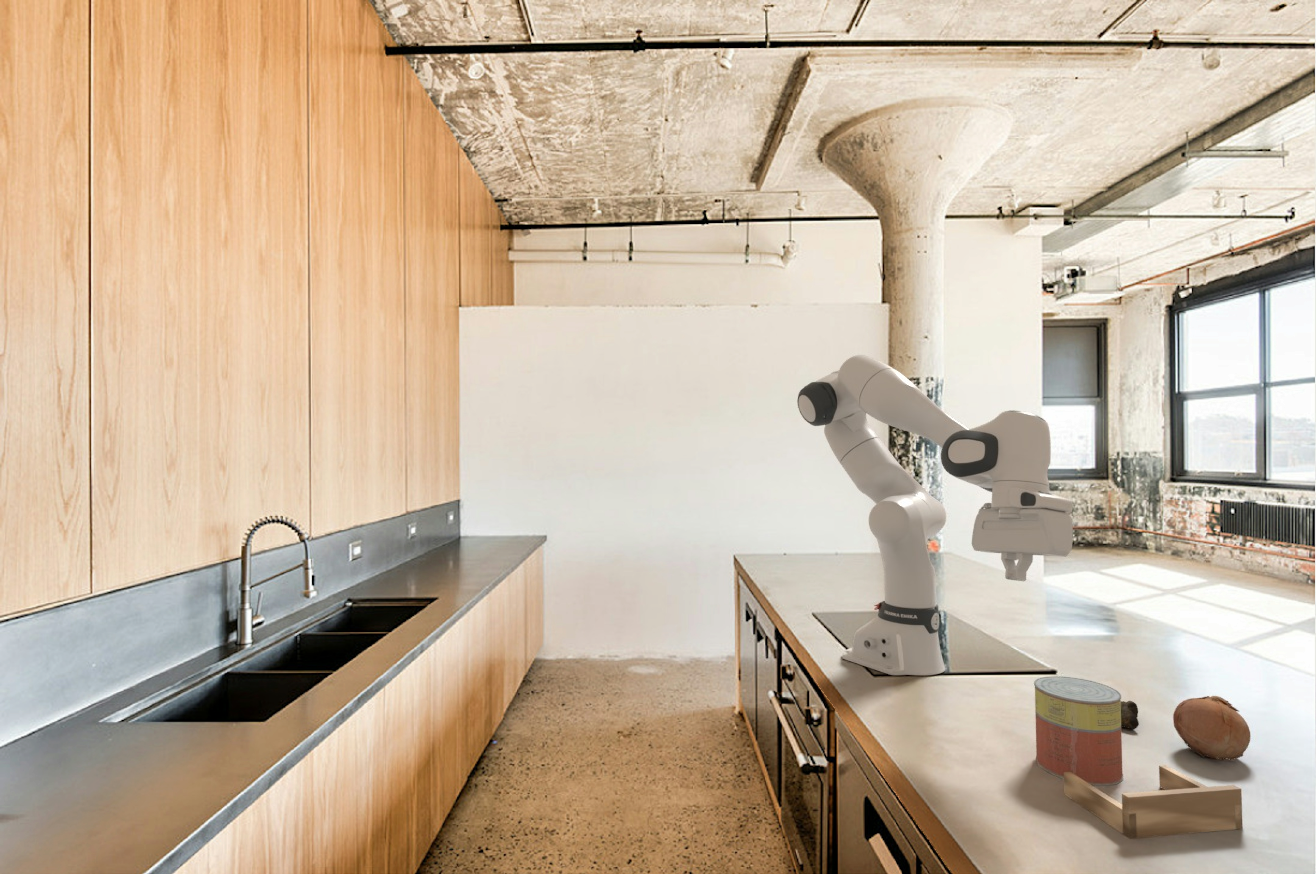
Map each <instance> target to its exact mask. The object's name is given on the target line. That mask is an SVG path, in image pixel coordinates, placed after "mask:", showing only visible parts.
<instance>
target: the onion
mask: <svg viewBox="0 0 1316 874" xmlns="http://www.w3.org/2000/svg"><path fill="white" fill-rule="evenodd" d="M1239 712H1240V710H1238V709H1237V708H1236V707H1235V706H1233V704H1232V703H1230V702H1229V701H1228V700H1226V699H1224V698H1223V697H1221V696H1219V695H1218V696H1217V695H1212V696H1209V695H1206V696H1202V697H1196V698H1195V697H1193V698H1187V699H1185V700H1182V702H1180V703H1179V704H1178V705H1177V706H1176V708H1175V709H1174V712H1173V717H1172V719H1173V726H1174V728H1175V729H1174V730H1176V732H1177V734H1178V736H1179V737H1180V738H1181V740H1183V742H1184V745H1185V746H1186V747H1188V749H1189V750H1191V751H1193V752H1194V753H1195V754H1198V755H1199V756H1201V757H1202V758H1205V757H1207V758H1210V759H1212V760H1216V759H1217V760H1219V761H1220V760H1221V761H1223V762H1224V760H1227V759H1228V760H1229V761H1233V762H1234V761H1236V759H1239V758H1241V757H1243V756H1244V753H1245V752H1246V750H1247V749H1248V747H1249V745H1250V742H1251V730H1250V727H1249V725H1248V722H1246V720H1245V719H1244V717H1243V716H1242V715H1241V714H1240V713H1239Z"/></svg>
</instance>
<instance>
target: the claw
mask: <svg viewBox="0 0 1316 874" xmlns="http://www.w3.org/2000/svg"><path fill="white" fill-rule="evenodd" d="M1138 714H1139V709H1138V705H1137V703H1136V702H1134V701H1132V700H1128V701H1121V728H1126V729H1131V730H1136V729H1137V728H1138V727H1139V725H1140V723H1139V719H1138V716H1139V715H1138Z"/></svg>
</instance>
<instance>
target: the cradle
mask: <svg viewBox="0 0 1316 874" xmlns="http://www.w3.org/2000/svg"><path fill="white" fill-rule="evenodd" d="M1158 772H1159V773H1158V775H1159V779H1158V780H1159V788H1160V789H1161V790H1151V791H1139V792H1137V791H1135V792H1124V793H1121V803H1120V802H1119V801H1118V800H1116V799H1114V798H1112V797H1111V796H1110V795H1107V794H1106V793H1105V792H1103V791H1101V790H1100V789H1098V788H1097V787H1096V786H1094V785H1090V784H1089V783H1087V782H1086V781H1084V780H1082V779H1081V778H1079V777H1078V776H1076V775H1074V774H1073V773H1071V772H1064V779H1063V788H1064V789H1063V790H1064V792H1063V793H1064V795H1066V796H1067V797H1068V798H1070V799H1071V800H1073V802H1076V803H1077V804H1079V805H1080V806H1082V808H1084V809H1085V810H1087V811H1089V812H1090V813H1092V814H1093V815H1094V816H1095V817H1096V816H1097V817H1098V818H1099V819H1100V820H1101V821H1103V822H1105V823H1106V824H1107V825H1109V826H1110V827H1112V828H1113V829H1115V830H1116V831H1118V832H1119V833H1121V834H1122V835H1124V836H1125V837H1127V838H1129V839H1136V838H1137V839H1138V838H1139V839H1140V838H1151V837H1161V836H1162V837H1163V836H1173V835H1185V834H1196V833H1197V834H1198V833H1209V832H1219V831H1231V830H1243V828H1244V827H1243V805H1242V804H1243V802H1242V801H1243V798H1242V788H1241V787H1239V786H1236V785H1234V784H1231V785H1228V784H1227V785H1217V786H1216V785H1215V786H1206V785H1204V784H1202V783H1201V782H1198V780H1195V779H1193V778H1191V777H1189V776H1188V775H1185V774H1184V773H1181V772H1179V771H1177V770H1175V769H1174V768H1171V767H1170V766H1167V765H1166V764H1164V765H1163V764H1162V765H1158Z"/></svg>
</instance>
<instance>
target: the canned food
mask: <svg viewBox="0 0 1316 874" xmlns="http://www.w3.org/2000/svg"><path fill="white" fill-rule="evenodd" d="M1033 684H1034V685H1033V686H1034V701H1035V702H1034V705H1035V706H1034V707H1035V746H1036V747H1035V749H1036V751H1035V752H1036V757H1035V762H1036V763H1038V764H1037V765H1038V766H1039V767H1040V768H1041V769H1042V768H1043V769H1042V770H1044V771H1046V772H1048V773H1049V774H1050V775H1053V776H1055V777H1058V778H1060V779H1063V780H1064V772H1071V773H1073V774H1074V775H1076V776H1078V777H1079V778H1081V779H1082V780H1084V781H1086V782H1087V783H1089V784H1090V785H1092V786H1094V787H1098V786H1099V787H1107V786H1108V787H1109V786H1115V785H1117V784H1120V783H1122V782H1123V780H1124V774H1123V746H1122V744H1123V743H1122V741H1123V740H1122V727H1121V700H1122V694H1121V693H1120V692H1119V691H1118V690H1116V688H1113V687H1110V686H1109V685H1105V684H1103V683H1100V682H1096V681H1093V680H1088V679H1084V678H1077V677H1070V676H1069V677H1068V676H1044V677H1038V678H1036V679H1035V680H1034V682H1033Z"/></svg>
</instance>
